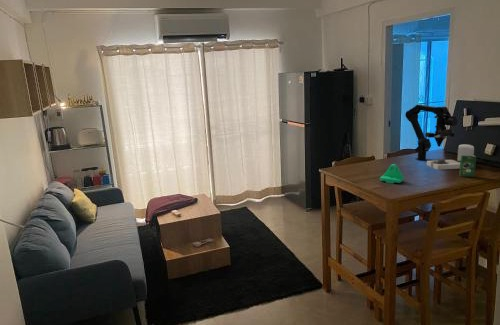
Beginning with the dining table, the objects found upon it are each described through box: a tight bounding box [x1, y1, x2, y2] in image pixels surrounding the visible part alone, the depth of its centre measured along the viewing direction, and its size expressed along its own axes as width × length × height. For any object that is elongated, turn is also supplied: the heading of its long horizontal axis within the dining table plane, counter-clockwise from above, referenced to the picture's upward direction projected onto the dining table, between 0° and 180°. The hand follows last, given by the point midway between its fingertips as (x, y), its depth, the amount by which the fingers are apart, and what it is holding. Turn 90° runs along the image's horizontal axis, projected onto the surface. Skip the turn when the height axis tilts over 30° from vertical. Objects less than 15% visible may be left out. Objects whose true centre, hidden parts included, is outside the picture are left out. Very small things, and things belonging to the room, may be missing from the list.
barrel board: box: [426, 159, 461, 171], centre depth 255 cm, size 14×18×3 cm
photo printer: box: [457, 143, 475, 162], centre depth 267 cm, size 10×4×12 cm, turn 39°
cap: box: [434, 158, 446, 164], centre depth 255 cm, size 6×6×5 cm
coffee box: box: [458, 155, 477, 178], centre depth 229 cm, size 8×3×13 cm, turn 77°
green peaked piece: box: [379, 163, 405, 184], centre depth 225 cm, size 12×8×10 cm, turn 52°
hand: (439, 146), depth 264 cm, fingers closed
